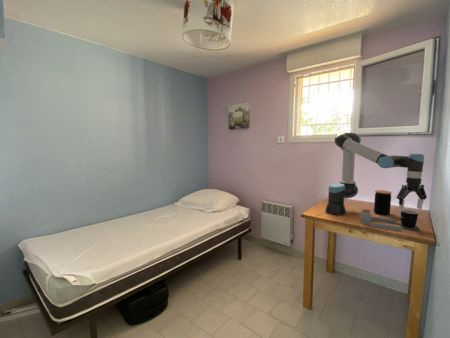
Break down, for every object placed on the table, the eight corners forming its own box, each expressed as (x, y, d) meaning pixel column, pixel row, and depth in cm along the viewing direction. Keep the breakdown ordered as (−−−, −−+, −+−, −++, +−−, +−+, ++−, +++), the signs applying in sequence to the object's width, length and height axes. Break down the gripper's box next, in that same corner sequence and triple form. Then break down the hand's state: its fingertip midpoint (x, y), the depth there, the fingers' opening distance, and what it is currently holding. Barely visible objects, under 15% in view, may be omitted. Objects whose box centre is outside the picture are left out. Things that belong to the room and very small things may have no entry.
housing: (361, 225, 156) (362, 214, 155) (360, 218, 170) (360, 208, 169) (401, 230, 146) (402, 218, 145) (396, 223, 160) (397, 212, 159)
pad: (401, 229, 149) (401, 228, 149) (398, 224, 158) (398, 223, 158) (421, 231, 144) (421, 230, 144) (416, 226, 153) (416, 225, 153)
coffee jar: (392, 216, 175) (394, 193, 173) (377, 215, 177) (378, 192, 175) (385, 211, 185) (387, 190, 183) (371, 211, 187) (372, 189, 185)
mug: (398, 222, 158) (399, 208, 157) (415, 225, 154) (416, 210, 152) (401, 228, 148) (402, 213, 146) (419, 231, 143) (420, 215, 142)
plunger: (362, 217, 160) (363, 210, 160) (362, 215, 164) (362, 208, 163) (369, 217, 158) (369, 211, 158) (368, 216, 162) (369, 209, 161)
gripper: (402, 178, 142) (398, 211, 145) (436, 178, 145) (432, 209, 148) (391, 176, 149) (388, 207, 152) (425, 176, 152) (421, 206, 155)
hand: (410, 208), depth 150 cm, fingers open, 13 cm apart
